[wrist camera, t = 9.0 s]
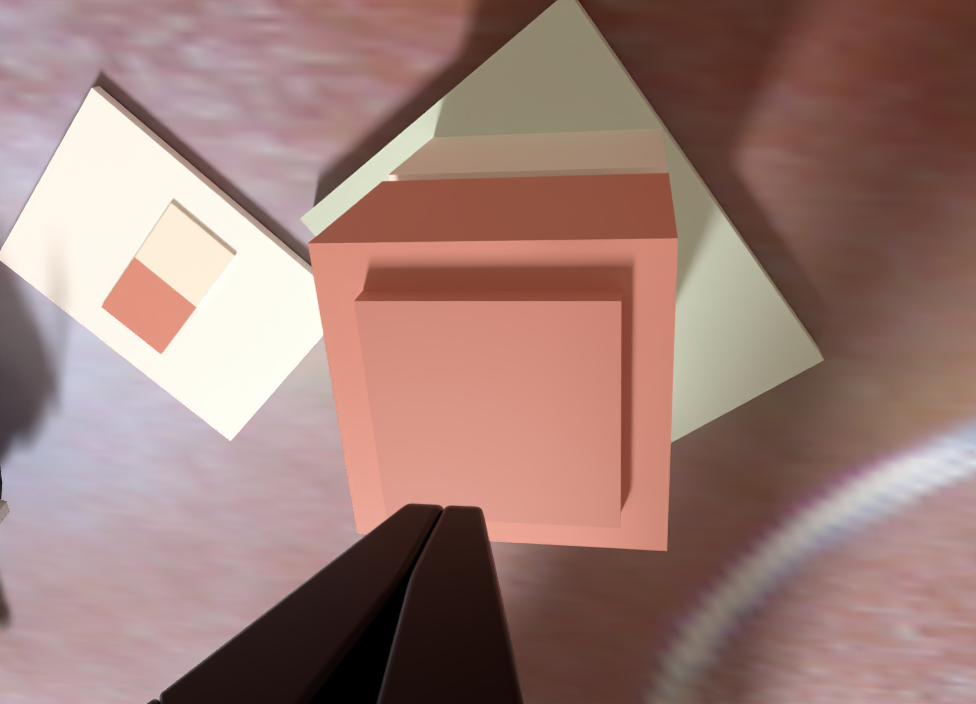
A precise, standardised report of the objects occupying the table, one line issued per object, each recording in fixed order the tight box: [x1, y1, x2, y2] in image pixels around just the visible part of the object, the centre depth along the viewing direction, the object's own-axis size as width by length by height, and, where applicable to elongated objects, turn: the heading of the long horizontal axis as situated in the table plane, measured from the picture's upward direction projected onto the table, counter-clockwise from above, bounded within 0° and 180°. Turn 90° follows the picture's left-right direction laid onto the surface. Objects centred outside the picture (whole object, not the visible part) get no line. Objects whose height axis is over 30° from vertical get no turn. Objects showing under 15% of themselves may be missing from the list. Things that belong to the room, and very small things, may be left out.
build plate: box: [301, 0, 824, 443], centre depth 19 cm, size 10×8×1 cm
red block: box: [308, 173, 678, 551], centre depth 13 cm, size 5×5×4 cm
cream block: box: [388, 129, 668, 181], centre depth 17 cm, size 5×5×4 cm
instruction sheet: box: [0, 86, 323, 441], centre depth 21 cm, size 8×6×1 cm
